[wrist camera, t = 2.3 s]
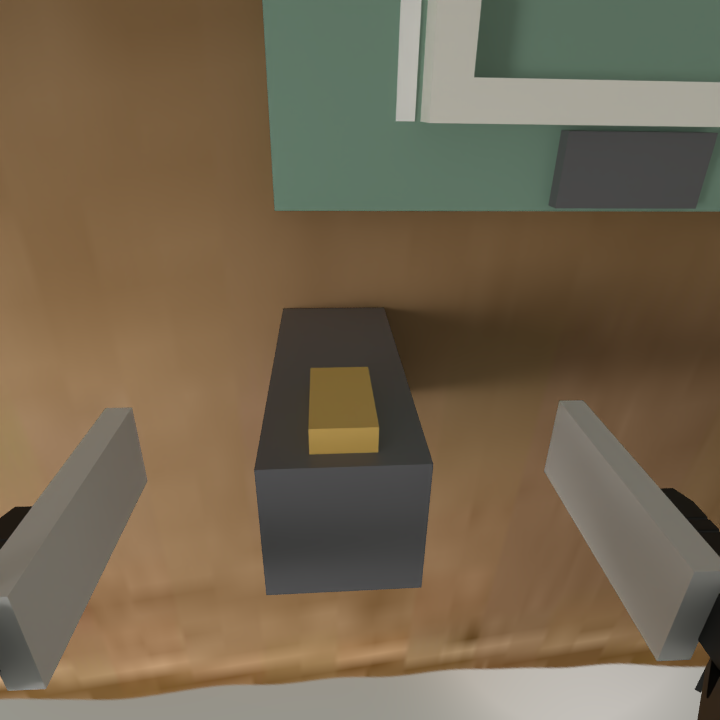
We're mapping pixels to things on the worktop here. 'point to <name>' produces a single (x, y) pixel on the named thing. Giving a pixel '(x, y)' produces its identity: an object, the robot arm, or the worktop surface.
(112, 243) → the worktop surface
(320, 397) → the plug
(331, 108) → the board
